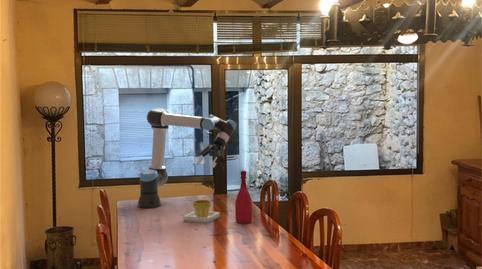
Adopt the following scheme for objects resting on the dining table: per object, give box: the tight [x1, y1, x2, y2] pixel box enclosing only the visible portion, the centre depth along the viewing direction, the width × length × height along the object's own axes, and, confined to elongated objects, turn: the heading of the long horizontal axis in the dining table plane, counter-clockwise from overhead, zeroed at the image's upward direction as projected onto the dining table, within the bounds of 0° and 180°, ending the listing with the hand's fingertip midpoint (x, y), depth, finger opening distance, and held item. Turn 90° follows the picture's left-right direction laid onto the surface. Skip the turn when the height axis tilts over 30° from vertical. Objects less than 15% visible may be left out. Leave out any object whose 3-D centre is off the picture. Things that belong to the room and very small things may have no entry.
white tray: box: [183, 210, 220, 224], centre depth 307 cm, size 16×16×3 cm
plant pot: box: [192, 199, 212, 218], centre depth 307 cm, size 10×10×10 cm
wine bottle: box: [234, 170, 253, 224], centre depth 299 cm, size 10×10×30 cm
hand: (204, 165), depth 328 cm, fingers open, 13 cm apart
